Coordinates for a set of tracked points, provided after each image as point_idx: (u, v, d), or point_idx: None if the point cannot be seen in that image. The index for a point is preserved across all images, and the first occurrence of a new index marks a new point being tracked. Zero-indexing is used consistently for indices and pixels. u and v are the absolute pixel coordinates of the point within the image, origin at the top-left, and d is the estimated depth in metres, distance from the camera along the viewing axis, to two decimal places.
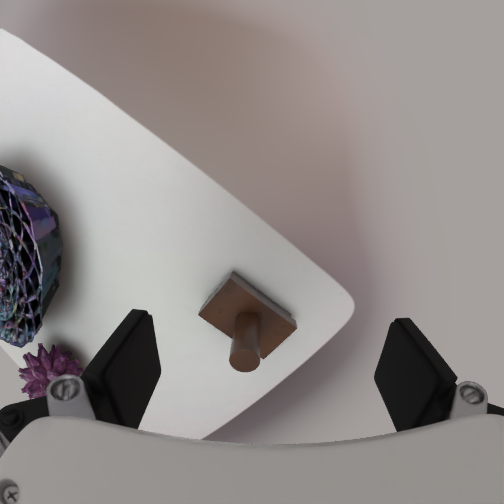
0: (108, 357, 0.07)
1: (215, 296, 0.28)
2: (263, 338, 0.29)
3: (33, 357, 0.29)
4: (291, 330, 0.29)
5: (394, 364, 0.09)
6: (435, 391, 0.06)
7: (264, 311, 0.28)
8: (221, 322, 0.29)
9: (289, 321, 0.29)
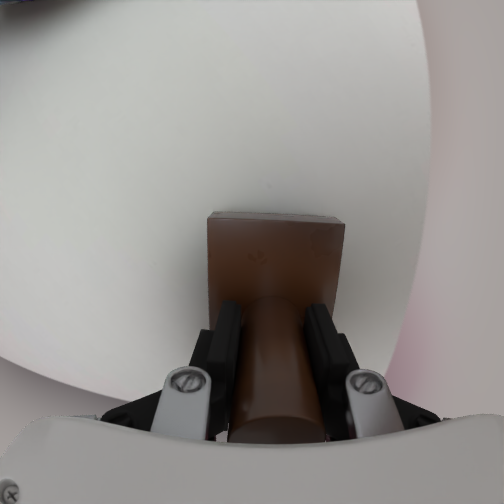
0: (225, 344, 0.08)
1: (283, 223, 0.11)
2: None
3: None
4: None
5: None
6: (326, 374, 0.07)
7: None
8: (230, 276, 0.12)
9: None
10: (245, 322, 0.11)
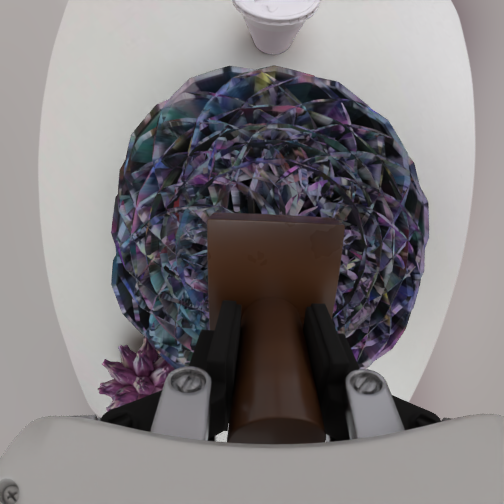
0: (225, 344, 0.08)
1: (283, 225, 0.11)
2: None
3: (166, 373, 0.25)
4: None
5: None
6: (326, 374, 0.07)
7: None
8: (230, 277, 0.12)
9: None
10: (245, 323, 0.11)
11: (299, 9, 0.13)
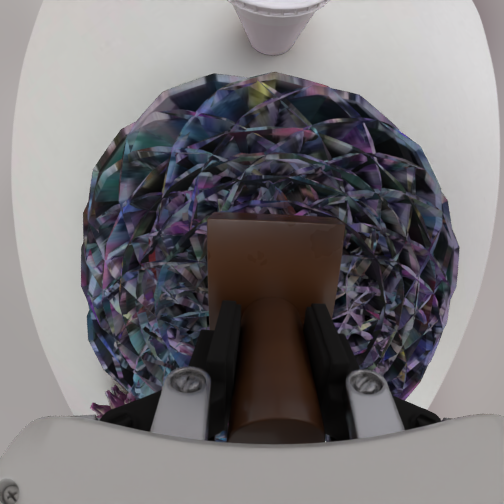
0: (225, 344, 0.08)
1: (283, 224, 0.11)
2: None
3: None
4: None
5: None
6: (326, 374, 0.07)
7: None
8: (229, 277, 0.12)
9: None
10: (245, 323, 0.11)
11: None
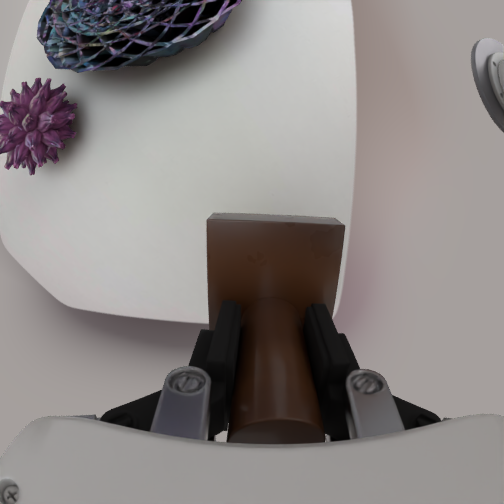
0: (224, 344, 0.08)
1: (283, 225, 0.11)
2: None
3: (48, 87, 0.20)
4: None
5: None
6: (326, 374, 0.07)
7: None
8: (229, 278, 0.12)
9: None
10: (245, 324, 0.11)
11: None
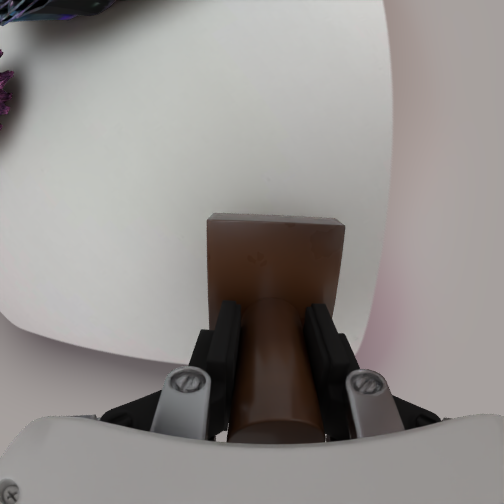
0: (224, 344, 0.08)
1: (283, 225, 0.11)
2: None
3: None
4: None
5: None
6: (326, 374, 0.07)
7: None
8: (229, 278, 0.12)
9: None
10: (245, 324, 0.11)
11: None
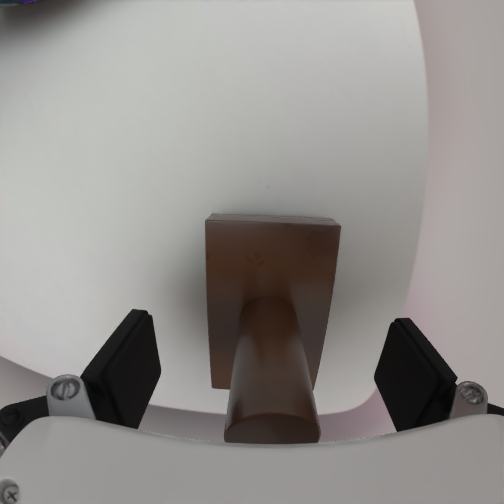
0: (108, 357, 0.07)
1: (280, 225, 0.11)
2: None
3: None
4: None
5: (394, 364, 0.09)
6: (435, 391, 0.06)
7: (313, 331, 0.13)
8: (227, 277, 0.12)
9: None
10: (242, 322, 0.11)
11: None
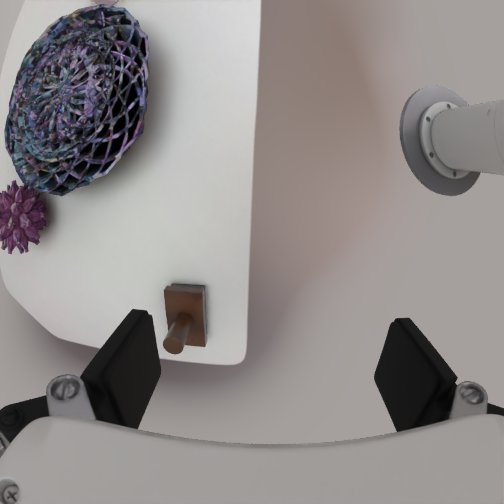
0: (108, 357, 0.07)
1: (184, 292, 0.37)
2: None
3: (22, 193, 0.30)
4: (201, 345, 0.40)
5: (394, 364, 0.09)
6: (435, 391, 0.06)
7: (199, 324, 0.39)
8: (171, 306, 0.38)
9: (205, 339, 0.40)
10: (174, 319, 0.37)
11: None
